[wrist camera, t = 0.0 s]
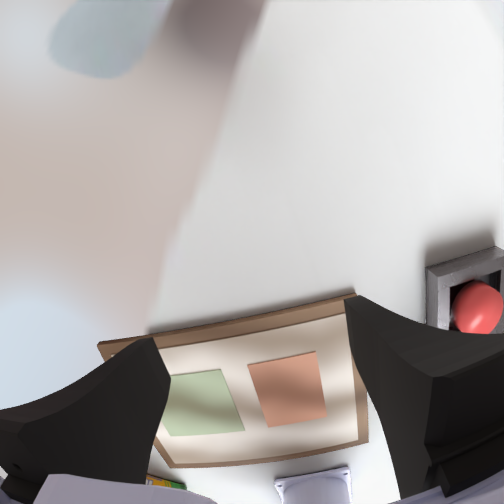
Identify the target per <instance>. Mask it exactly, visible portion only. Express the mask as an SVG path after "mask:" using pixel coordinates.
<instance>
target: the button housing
mask: <svg viewBox="0 0 504 504" xmlns="http://www.w3.org/2000/svg"><path fill="white" fill-rule="evenodd" d="M425 273H426V308H427V323H426V325H429V326H432V327H436V328H441V329H445V330H451V331H457V332H461V331H460V330H459V329H458V328H457V327H456V326H455V324H454V323H453V321H452V318H451V309H452V305H453V302H454V299H455V297H456V296H457V294H458V293H459V291H460V290H461V289H462V288H463V287H464V286H465V285H467V284H468V283H470V282H472V281H476V280H480V281H483V282H485V283H487V284H488V285H489V286H491V287H492V288H494V289H495V290H497V291H498V292H499V293H500V294H501V296H502V298H503V311H502V315H501V317H500V320H499V322H498V323H497V325H496V326H495V328H494V329H493V330H492V331H491V332H490V333H489V334H501V333H503V331H504V250H502V249H500V248H498V247H496V246H495V247H492V248H489V249H485V250H482V251H479V252H476V253H473V254H469V255H466V256H463V257H459V258H456V259H453V260H449V261H446V262H443V263H439V264H436V265H432V266H429V267H425Z"/></svg>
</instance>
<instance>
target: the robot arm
mask: <svg viewBox="0 0 504 504" xmlns="http://www.w3.org/2000/svg"><path fill="white" fill-rule="evenodd" d="M343 300H344V307H345V314H346V322H347V329H348V337H349V346H350V349H351V353H352V356H353V359H354V362H355V365H356V368H357V370H358V372H359V375H360V377H361V379H362V381H363V383H364V385H365V387H366V389H367V392H368V394H369V396H370V398H371V400H372V402H373V404H374V407H375V409H376V411H377V413H378V416H379V418H380V421H381V424H382V428H383V431H384V434H385V437H386V441H387V444H388V448H389V452H390V455H391V459H392V463H393V467H394V471H395V475H396V479H397V483H398V488H399V492H400V497H401V500H399V501H396V502H392V503H389V504H504V333H501V334H478V333H465V332H457V331H451V330H445V329H441V328H436V327H432V326H429V325H425V324H422V323H419V322H416V321H413V320H411V319H408V318H406V317H403V316H401V315H398V314H396V313H394V312H392V311H390V310H388V309H386V308H384V307H382V306H380V305H378V304H376V303H374V302H372V301H370V300H369V299H367V298H365V297H363V296H361V295H358V296H354V297H350V298H346V299H343ZM170 384H171V377H170V374H169V372H168V370H167V368H166V366H165V364H164V361H163V359H162V357H161V355H160V352H159V350H158V348H157V346H156V343H155V341H154V339H153V337H149V338H142V339H138V340H136V341H134V342H133V343H131V344H129V345H128V346H126V347H125V348H124V349H122V350H121V351H119V352H118V353H117V354H115V355H114V356H113V357H111V358H110V359H108V360H107V361H106V362H104V363H103V364H102V365H100V366H99V367H97V368H96V369H94V370H93V371H91V372H90V373H88V374H87V375H85V376H84V377H82V378H81V379H79V380H77V381H76V382H74V383H72V384H71V385H69V386H67V387H65V388H63V389H61V390H59V391H57V392H54V393H52V394H50V395H48V396H45V397H43V398H41V399H38V400H35V401H32V402H29V403H26V404H23V405H20V406H16V407H12V408H7V409H2V410H0V466H1V467H2V468H3V469H4V471H5V472H6V473H7V474H8V476H7V477H6V479H3V478H2V477H1V476H0V504H217V503H216V502H214V501H213V500H212V499H210V498H207V497H204V496H201V495H198V494H196V493H193V492H190V491H187V490H183V489H176V488H170V487H164V486H158V485H146V477H147V470H148V464H149V459H150V454H151V449H152V446H153V442H154V439H155V436H156V433H157V430H158V427H159V425H160V422H161V419H162V416H163V413H164V410H165V407H166V404H167V401H168V396H169V391H170ZM274 484H275V487H276V489H277V491H278V494H279V496H280V498H281V500H282V502H283V504H352V491H351V477H350V468H349V467H343V468H338V469H334V470H329V471H324V472H319V473H313V474H308V475H302V476H296V477H289V478H282V479H276V480H275V481H274Z"/></svg>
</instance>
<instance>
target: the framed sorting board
mask: <svg viewBox="0 0 504 504" xmlns="http://www.w3.org/2000/svg"><path fill="white" fill-rule="evenodd" d="M354 296H357V294H356V293H353V294H349V295H345V296H340V297H336V298H332V299H328V300H324V301H320V302H315V303H311V304H307V305H302V306H298V307H293V308H289V309H284V310H279V311H275V312H270V313H265V314H260V315H256V316H251V317H246V318H241V319H236V320H230V321H225V322H220V323H214V324H209V325H203V326H198V327H192V328H186V329H181V330H175V331H169V332H162V333H156V334H150V335H143V336H137V337H130V338H123V339H116V340H109V341H102V342H99V343H98V344H97V347H98V349H99V351H100V353H101V355H102V357H103V359H104V361H105V362H106V361H107V360H108V359H110V358H111V357H113V356H114V355H115V354H117V353H118V352H119V351H121V350H122V349H124V348H125V347H126V346H128V345H129V344H131V343H133V342H134V341H136V340H138V339H142V338H149V337H153V339H154V341H155V343H156V346H157V348H158V350H159V352H160V355H161V357H162V359H163V361H164V364H165V366H166V368H167V370H168V372H169V374H170V377H171V384H170V391H169V396H168V401H167V404H166V407H165V410H164V413H163V416H162V419H161V422H160V425H159V427H158V430H157V433H156V436H155V439H154V442H153V444H154V446H155V447H156V449H157V450H158V452H159V453H160V455H161V456H162V457H163V459H164V460H165V462H166V463H167V464H168V466H169V467H170V468H208V467H226V466H239V465H249V464H259V463H267V462H275V461H282V460H288V459H295V458H301V457H306V456H312V455H317V454H322V453H327V452H331V451H336V450H340V449H345V448H349V447H353V446H357V445H361V444H364V443H368V442H369V440H368V409H367V390H366V387H365V385H364V383H363V381H362V379H361V377H360V375H359V372H358V370H357V368H356V365H355V362H354V359H353V356H352V353H351V349H350V346H349V337H348V329H347V322H346V314H345V307H344V300H343V299H346V298H350V297H354Z"/></svg>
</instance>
